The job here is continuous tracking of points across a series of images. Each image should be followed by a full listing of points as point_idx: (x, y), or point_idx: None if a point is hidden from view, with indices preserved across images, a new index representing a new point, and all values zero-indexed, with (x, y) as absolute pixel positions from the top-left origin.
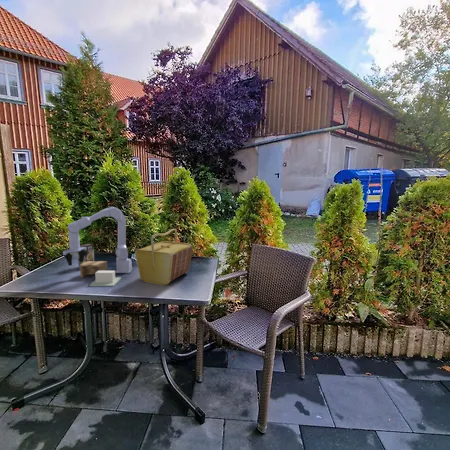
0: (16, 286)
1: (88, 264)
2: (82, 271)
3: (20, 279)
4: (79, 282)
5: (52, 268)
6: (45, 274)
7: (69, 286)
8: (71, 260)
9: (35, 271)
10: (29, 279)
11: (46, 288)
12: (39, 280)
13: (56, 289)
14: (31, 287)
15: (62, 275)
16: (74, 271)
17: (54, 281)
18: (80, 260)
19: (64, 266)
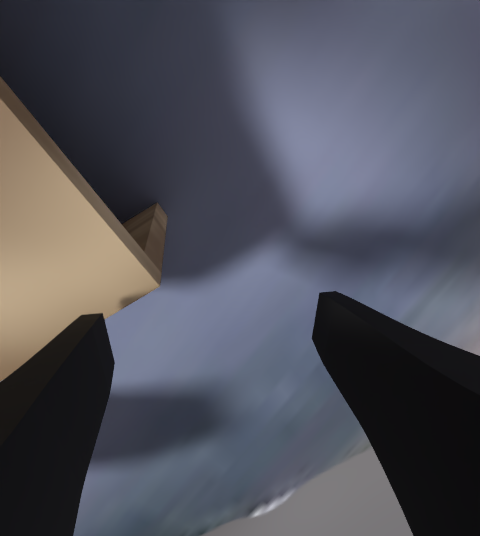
0: None
1: (21, 151)
2: (139, 229)
3: (366, 446)
4: (269, 85)
5: (168, 514)
6: (259, 449)
7: (392, 70)
8: (394, 338)
9: (251, 508)
10: (353, 424)
11: (462, 209)
12: None
13: (474, 113)
14: (456, 304)
15: (218, 377)
16: None
17: None
18: (101, 374)
19: (95, 517)
